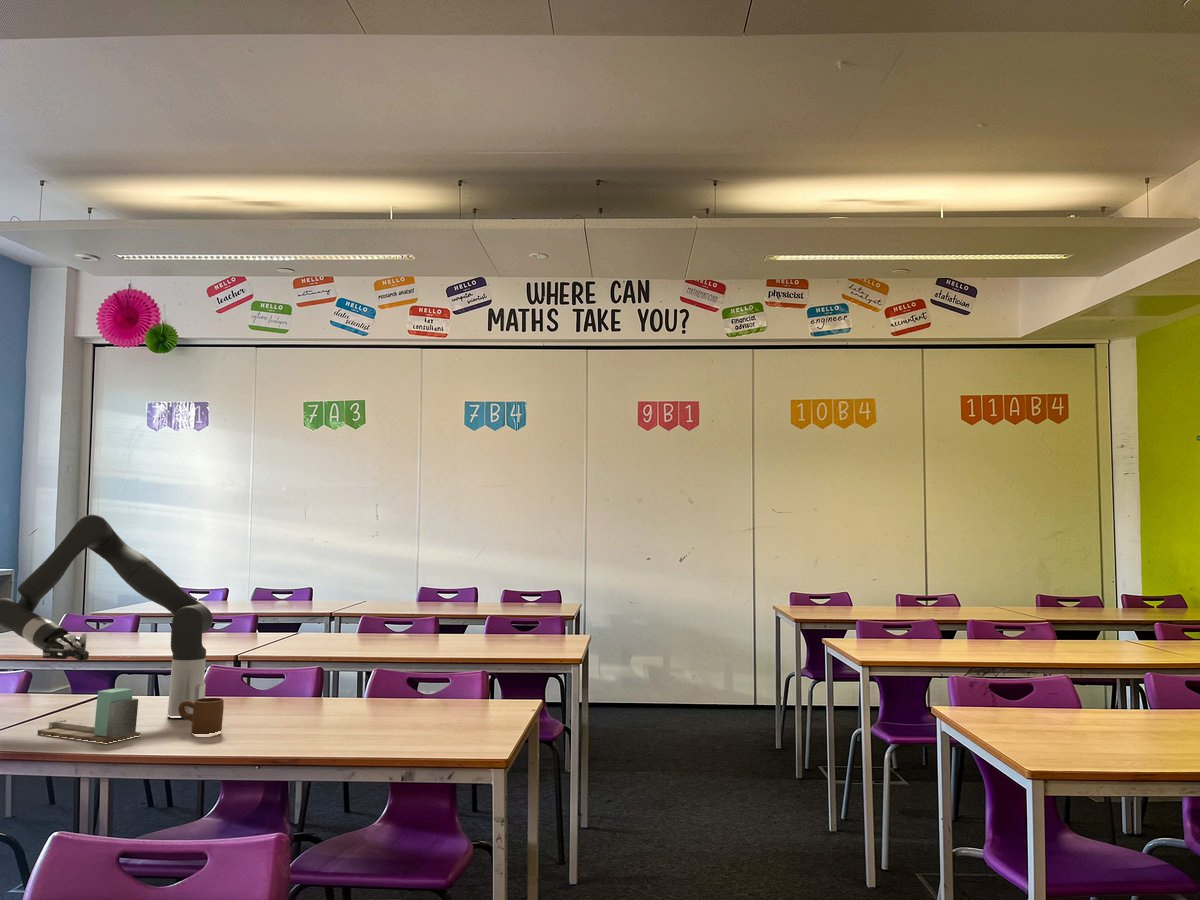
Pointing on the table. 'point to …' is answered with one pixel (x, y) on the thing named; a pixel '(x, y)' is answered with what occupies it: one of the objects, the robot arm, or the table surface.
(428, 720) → the table surface
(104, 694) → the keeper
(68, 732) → the board
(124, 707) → the rail
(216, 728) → the mug
